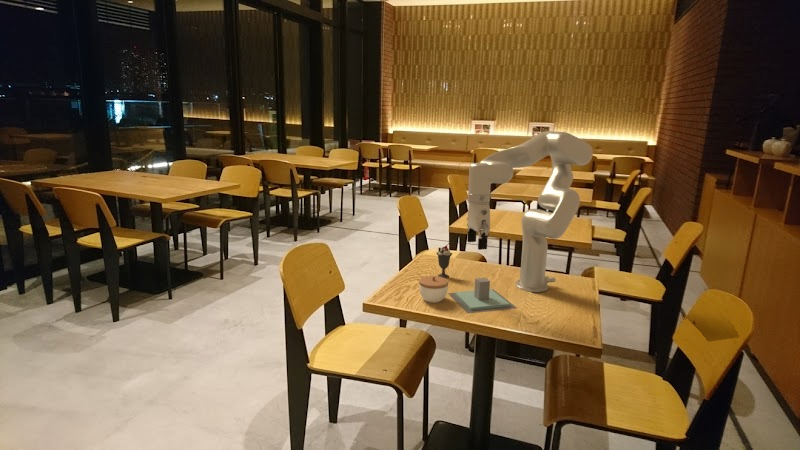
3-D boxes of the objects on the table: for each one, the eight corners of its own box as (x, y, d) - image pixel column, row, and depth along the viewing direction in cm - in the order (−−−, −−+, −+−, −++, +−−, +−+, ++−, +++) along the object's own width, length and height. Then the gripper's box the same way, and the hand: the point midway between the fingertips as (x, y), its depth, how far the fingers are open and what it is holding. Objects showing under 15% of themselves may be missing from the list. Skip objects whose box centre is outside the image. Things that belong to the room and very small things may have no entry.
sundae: (452, 279, 198) (453, 244, 194) (436, 278, 198) (437, 244, 194) (450, 274, 204) (452, 240, 201) (435, 273, 204) (436, 240, 201)
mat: (493, 290, 186) (493, 289, 186) (517, 309, 168) (517, 308, 168) (447, 294, 181) (447, 293, 181) (467, 314, 163) (467, 313, 163)
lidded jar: (446, 307, 169) (447, 282, 167) (416, 304, 171) (416, 280, 169) (449, 296, 179) (450, 272, 177) (421, 294, 181) (421, 270, 179)
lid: (490, 291, 184) (492, 271, 182) (509, 306, 169) (511, 285, 168) (454, 294, 180) (455, 274, 178) (470, 310, 166) (471, 288, 164)
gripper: (499, 202, 159) (496, 251, 163) (479, 193, 175) (477, 238, 179) (478, 203, 157) (476, 253, 161) (459, 194, 173) (458, 239, 178)
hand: (476, 245), depth 170 cm, fingers open, 9 cm apart
